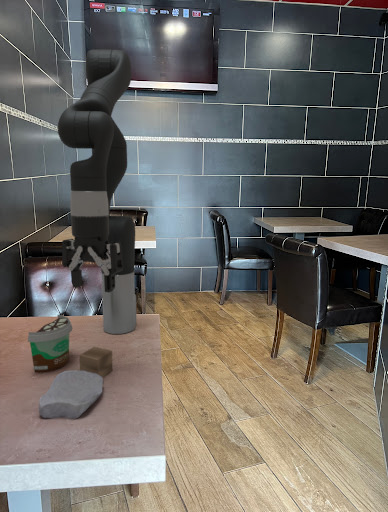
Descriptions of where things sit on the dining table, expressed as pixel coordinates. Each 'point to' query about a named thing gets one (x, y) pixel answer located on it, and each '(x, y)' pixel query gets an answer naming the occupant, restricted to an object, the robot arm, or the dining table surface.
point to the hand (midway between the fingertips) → (93, 289)
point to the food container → (51, 345)
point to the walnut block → (96, 361)
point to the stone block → (71, 394)
